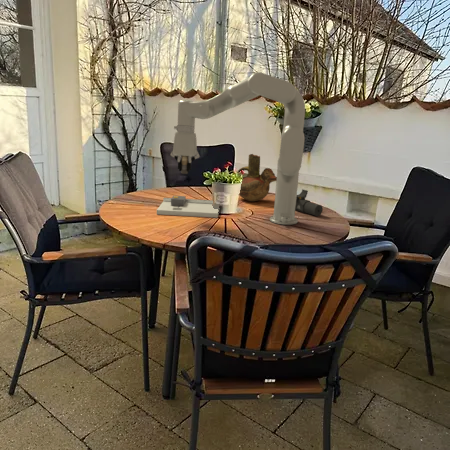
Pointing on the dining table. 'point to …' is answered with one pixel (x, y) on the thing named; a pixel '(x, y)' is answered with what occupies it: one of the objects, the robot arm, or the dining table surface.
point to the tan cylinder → (184, 164)
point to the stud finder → (178, 200)
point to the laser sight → (307, 205)
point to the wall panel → (188, 208)
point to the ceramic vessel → (256, 180)
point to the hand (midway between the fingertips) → (184, 170)
